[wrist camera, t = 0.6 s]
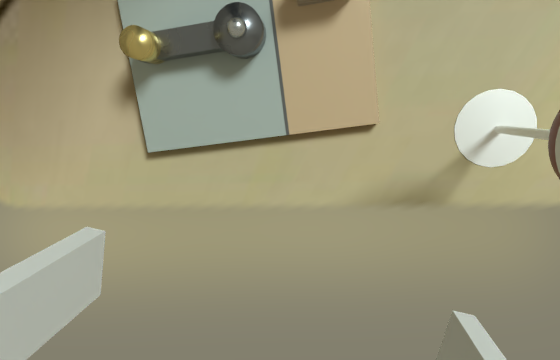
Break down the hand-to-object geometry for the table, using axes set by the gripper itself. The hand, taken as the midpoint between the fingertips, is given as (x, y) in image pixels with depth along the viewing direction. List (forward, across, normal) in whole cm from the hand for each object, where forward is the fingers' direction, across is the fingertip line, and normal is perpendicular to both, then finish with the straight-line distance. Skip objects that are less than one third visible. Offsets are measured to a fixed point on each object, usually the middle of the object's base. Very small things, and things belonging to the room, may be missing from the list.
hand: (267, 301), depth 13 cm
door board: (+25, -8, +10) cm, 28 cm away
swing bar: (+24, -12, +11) cm, 29 cm away
